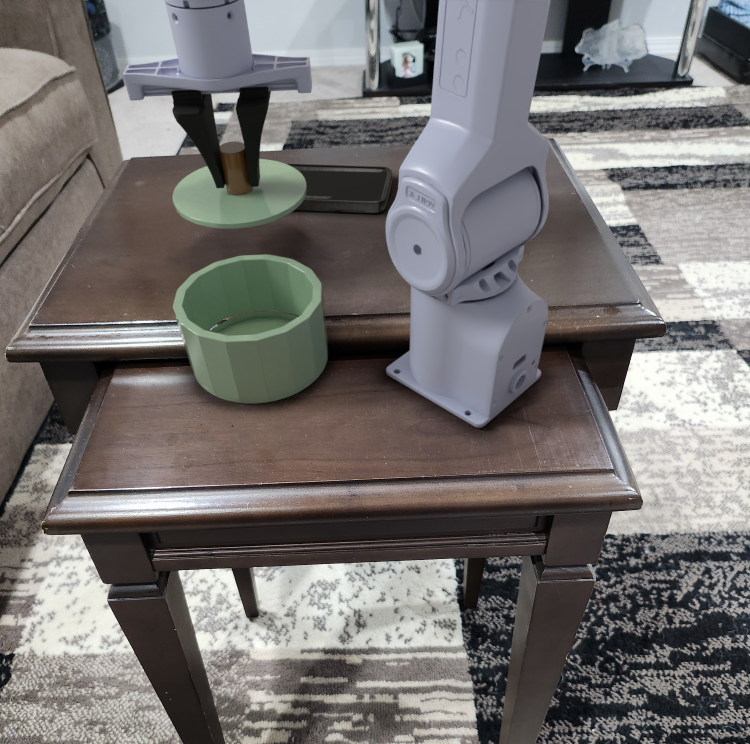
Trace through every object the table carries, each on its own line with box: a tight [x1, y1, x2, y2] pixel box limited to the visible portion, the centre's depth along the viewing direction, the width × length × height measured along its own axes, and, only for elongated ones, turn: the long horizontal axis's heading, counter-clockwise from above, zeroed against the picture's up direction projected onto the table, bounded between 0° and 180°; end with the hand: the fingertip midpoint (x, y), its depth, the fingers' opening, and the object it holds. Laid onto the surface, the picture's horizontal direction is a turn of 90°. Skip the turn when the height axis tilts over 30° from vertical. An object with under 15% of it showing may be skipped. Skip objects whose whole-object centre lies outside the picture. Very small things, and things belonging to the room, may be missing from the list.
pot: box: [172, 253, 329, 404], centre depth 52 cm, size 11×11×6 cm
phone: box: [286, 163, 393, 214], centre depth 71 cm, size 8×1×15 cm
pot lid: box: [172, 141, 307, 230], centre depth 59 cm, size 12×12×5 cm
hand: (238, 182), depth 59 cm, fingers closed on pot lid, 2 cm apart
